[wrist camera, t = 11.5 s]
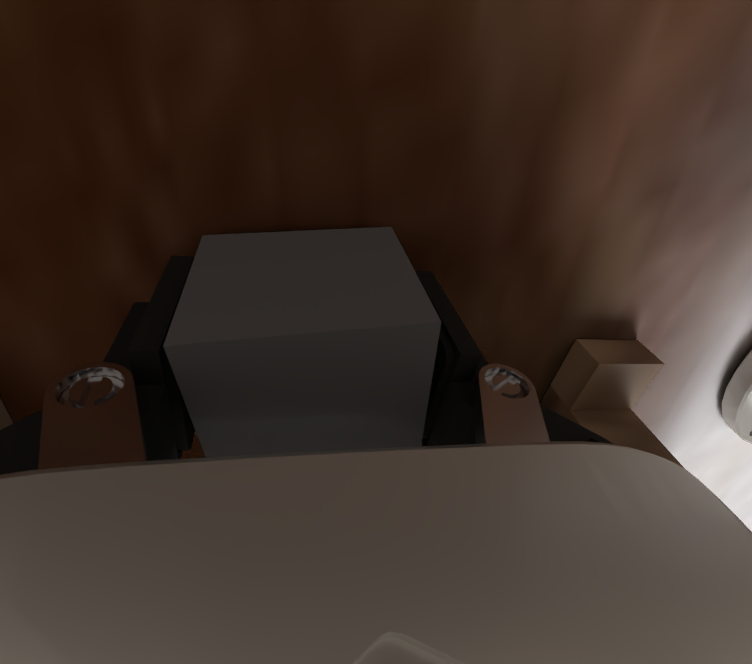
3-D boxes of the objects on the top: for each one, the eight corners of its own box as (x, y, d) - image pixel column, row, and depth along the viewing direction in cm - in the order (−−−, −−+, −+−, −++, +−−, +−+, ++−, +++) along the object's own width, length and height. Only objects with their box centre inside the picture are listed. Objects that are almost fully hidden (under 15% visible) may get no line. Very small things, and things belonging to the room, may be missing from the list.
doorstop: (391, 226, 11) (441, 321, 8) (375, 496, 20) (395, 599, 16) (202, 235, 10) (162, 345, 7) (271, 513, 19) (269, 625, 16)
